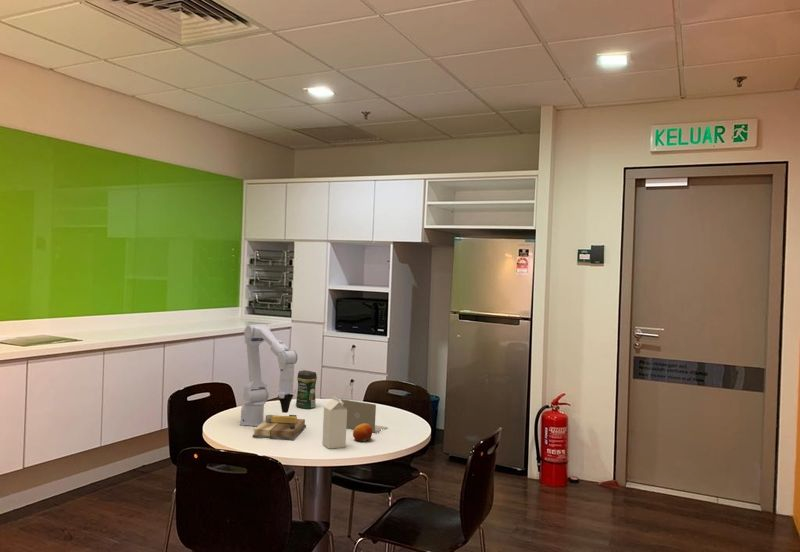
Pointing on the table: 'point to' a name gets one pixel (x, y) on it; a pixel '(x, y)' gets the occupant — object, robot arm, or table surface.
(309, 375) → the coffee jar
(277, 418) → the bar
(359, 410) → the laptop
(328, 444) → the milk carton
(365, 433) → the fruit
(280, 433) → the wooden board with knob
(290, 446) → the table surface
